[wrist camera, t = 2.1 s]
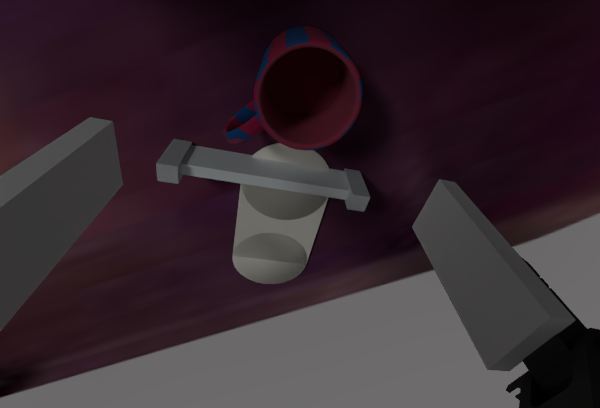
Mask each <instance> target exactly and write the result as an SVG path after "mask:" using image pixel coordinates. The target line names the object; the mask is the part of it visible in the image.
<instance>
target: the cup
mask: <svg viewBox="0 0 600 408" xmlns="http://www.w3.org/2000/svg"><path fill="white" fill-rule="evenodd" d="M362 98H363V88H362V81H361V78H360V74H359V72H358V70H357V68H356V66H355V64H354V62H353V61H352V60H351V58H350V57H349V56H348V55H347V54H346V53H345V51H344V50H343V49H342V48H341V47H340V46H339V45H338V44H337V42H336V41H335V40H334V39H333V38H332V37H331V36H330V35H328V34H327V33H326V32H324V31H322V30H321V29H318V28H315V27H311V26H296V27H293V28H289V29H287V30H285V31H283V32H281V33H280V34H279V35H278V36H276V37H275V38H274V39H273V40H272V42H271V43H270V44H269V46H268V47H267V49H266V51H265V54H264V56H263V59H262V62H261V65H260V69H259V72H258V75H257V79H256V83H255V88H254V100H252V101H251V102H250V103H248V104H247V105H246V106H244V107H243V108H242V109H240V110H239V111H238V112H237V113H236V114H235V115H234V116H233V117H232V118H231V119H230V120H229V121H228V122H227V124H226V126H225V128H224V130H223V134H224V136H225V137H226V139H227V140H228V141H229V142H230V143H231V144H240V143H243V142H245V141H247V140H249V139H251V138H252V137H254V136H256V135H257V134H259V133H260V132H262V131H263V130H264V129H265V130H266V132H267V133H268V134H269V135H270V136H271V137H272V138H273V139H275V140H276V141H278V142H279V143H281V144H283V145H285V146H287V147H289V148H293V149H297V150H316V149H320V148H324V147H326V146H329V145H331V144H333V143H335V142H336V141H338V140H339V139H341V138H342V137H343V136H344V135H345V134H346V133H347V132H348V131H349V130H350V129H351V127H352V126H353V124H354V123H355V121H356V119H357V117H358V115H359V112H360V109H361V105H362Z"/></svg>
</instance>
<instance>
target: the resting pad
mask: <svg viewBox="0 0 600 408" xmlns="http://www.w3.org/2000/svg"><path fill="white" fill-rule="evenodd" d="M252 157H256V158H262V159H268V160H274V161H279V162H285V163H291V164H297V165H303V166H309V167H315V168H321V169H326V170H329V167H328V165H327V163H326V161H325V160H324V159H323V158H322V156H320V155H319V154H318V153H317V152H316V151H314V150H297V149H293V148H289V147H287V146H285V145H283V144H281V143H275V144H271V145H269V146H266V147H264V148H262V149H260V150H259V151H257V152H256V153H255V154H254V155H253V156H252ZM327 200H328V197H325V196H319V195H312V194H306V193H299V192H293V191H286V190H280V189H273V188H267V187H260V186H254V185H248V184H241V187H240V196H239V204H238V213H237V222H236V231H235V240H234V248H233V263H234V266H235V268H236V269H237V271H238V272H239V273H240V274H241V275H243V276H244V277H246V278H247V279H249V280H252V281H255V282H258V283H264V284H277V283H283V282H286V281H289V280H291V279H293V278H295V277H297V276H298V275H299V274H300V273H301V272H302V271H303V270H304V268H305V266H306V264H307V261H308V258H309V255H310V252H311V249H312V246H313V243H314V240H315V237H316V234H317V231H318V228H319V225H320V222H321V219H322V216H323V213H324V209H325V206H326V203H327Z"/></svg>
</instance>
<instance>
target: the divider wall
mask: <svg viewBox="0 0 600 408" xmlns="http://www.w3.org/2000/svg"><path fill="white" fill-rule="evenodd" d="M252 156H253V155H247V154H242V153H236V152H230V151H224V150H218V149H212V148H206V147H201V146H195V145H192V142H189V141H183V140H177V139H173V141H172V142H171V143H170V145H169V146H168V148H167V149H166V150H165V152H164V153H163V155H162V156H161V157H160V159H159V160H158V161H157V163H156V168H157V180H158V181H163V182H170V183H176V184H178V183H179V182H180V180H181V178H182V176H183V175H190V176H196V177H202V178H209V179H215V180H222V181H228V182H235V183H241V184H248V185H254V186H260V187H267V188H273V189H280V190H286V191H293V192H299V193H306V194H312V195H319V196H325V197H331V198H338V199H344V200H345V203H346V206H347V209H350V210H357V211H363V212H364V211H365V209H366V206H367V204H368V202H369V199H370V195H369V193H368V190H367V188H366V185H365V183H364V180H363V178H362V175H361V173H360V171H357V170H351V169H346V168H344V171H341V170H335V169H329V170H326V169H321V168H315V167H309V166H303V165H297V164H291V163H285V162H279V161H274V160H268V159H262V158H256V157H252Z"/></svg>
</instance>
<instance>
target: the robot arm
mask: <svg viewBox="0 0 600 408" xmlns="http://www.w3.org/2000/svg"><path fill="white" fill-rule="evenodd" d="M122 185H123V182H122V176H121V170H120V163H119V157H118V151H117V145H116V139H115V132H114V126H113V121H108V120H102V119H96V118H91V117H90V118H88V119H87V120H85V121H84V122H82V123H80V124H79V125H77V126H76V127H74V128H73V129H71V130H70V131H68V132H67V133H65V134H64V135H62V136H61V137H59V138H58V139H56V140H55V141H53V142H51V143H50V144H48V145H47V146H45V147H44V148H42V149H41V150H39V151H38V152H36V153H35V154H33V155H32V156H30V157H29V158H27V159H26V160H24V161H22V162H21V163H19V164H18V165H16V166H15V167H13V168H12V169H10V170H9V171H7V172H6V173H4V174H3V175H1V176H0V331H1V330H2V329H3V328H4V327H5V325H6V324H7V323H8V322H9V321H10V319H11V318H12V317H13V316H14V315H15V313H16V312H17V311H18V310H19V309H20V307H21V306H22V305H23V304H24V303H25V301H26V300H27V299H28V298H29V297H30V295H31V294H32V293H33V292H34V291H35V289H36V288H37V287H38V286H39V285H40V283H41V282H42V281H43V280H44V279H45V277H46V276H47V275H48V274H49V273H50V271H51V270H52V269H53V268H54V267H55V265H56V264H57V263H58V262H59V261H60V259H61V258H62V257H63V256H64V255H65V253H66V252H67V251H68V250H69V249H70V247H71V246H72V245H73V244H74V243H75V241H76V240H77V239H78V238H79V237H80V235H81V234H82V233H83V232H84V231H85V229H86V228H87V227H88V226H89V225H90V223H91V222H92V221H93V220H94V219H95V217H96V216H97V215H98V214H99V213H100V211H101V210H102V209H103V208H104V207H105V205H106V204H107V203H108V202H109V201H110V199H111V198H112V197H113V196H114V195H115V193H116V192H117V191H118V190H119V189H120V187H121V186H122ZM412 228H413V230H414V232H415V234H416V236H417V238H418V239H419V241H420V243H421V245H422V247H423V249H424V251H425V253H426V255H427V256H428V258H429V260H430V262H431V264H432V266H433V268H434V270H435V272H436V273H437V275H438V277H439V279H440V281H441V283H442V285H443V287H444V289H445V290H446V292H447V294H448V296H449V298H450V300H451V302H452V304H453V305H454V307H455V309H456V311H457V313H458V315H459V317H460V319H461V320H462V322H463V324H464V326H465V328H466V330H467V332H468V334H469V336H470V337H471V340H472V341H473V343H474V345H475V347H476V349H477V351H478V353H479V355H480V357H481V358H482V360H483V362H484V364H485V366H486V368H487V370H500V371H510V370H511V369H513V368H514V367H515V366H517V365H518V364H519V363H521V362H522V361H523V362H524V364H525V365H526V367H527V368H528V370H529V371H527V372H526V373H525V374H524V375H522V376H521V377H519V378H518V379H516V380H515V381H514V382H512V383H511V384H509V385H508V387H507V389H506V391H508V392H509V393H510V392H512V391H513V390H515V389H516V388H520V389H521V392H520V393H519V394H518V395H516V396H515V397H516V398H517V399H519V400H520V405H519V408H600V330H598V329H593V328H589V329H587V328H586V327H585V326H584V325H583V324H582V323H581V322H580V320H579V319H578V318H577V317H576V316H575V315H574V314H573V313H572V312H571V310H570V309H569V308H568V307H567V306H566V305H565V304H564V302H563V301H562V300H561V299H560V298H559V297H558V296H557V295H556V293H555V292H554V291H553V290H552V289H551V288H549V286H548V284H547V283H546V282H545V281H544V280H543V279H542V278H540V275H539V274H538V273H537V272H536V271H535V270H534V269H533V267H532V266H531V265H530V264H529V263H528V262H527V261H525V260H524V259H523V258H521V257H520V256H519V255H518V253H517V252H516V251H515V250H514V249H513V248H512V247H511V245H510V244H509V243H508V242H507V241H506V240H505V239H504V237H503V236H502V235H501V234H500V233H499V232H498V231H497V229H496V228H495V227H494V226H493V225H492V224H491V223H490V221H489V220H488V219H487V218H486V217H485V216H484V215H483V213H482V212H481V211H480V210H479V209H478V208H477V207H476V205H475V204H474V203H473V202H472V201H471V200H470V199H469V197H468V196H467V195H466V194H465V193H464V192H463V191H462V189H461V188H460V187H459V186H458V185H457V184H456V183H455V182H452V181H446V180H441V179H439V180H438V182H437V184H436V186H435V187H434V189H433V191H432V193H431V194H430V196H429V198H428V200H427V202H426V203H425V205H424V207H423V209H422V210H421V212H420V214H419V216H418V217H417V219H416V221H415V223H414V224H413V226H412Z"/></svg>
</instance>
